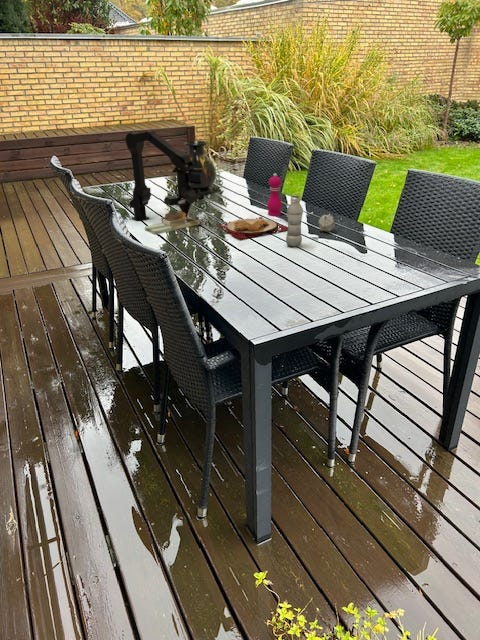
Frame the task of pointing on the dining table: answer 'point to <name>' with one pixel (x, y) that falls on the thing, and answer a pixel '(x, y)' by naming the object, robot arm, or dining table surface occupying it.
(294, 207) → the plastic bottle
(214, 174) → the amphora vase
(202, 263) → the dining table surface
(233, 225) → the plate with food
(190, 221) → the deck
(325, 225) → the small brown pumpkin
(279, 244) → the dining table surface
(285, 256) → the dining table surface
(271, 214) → the pepper mill
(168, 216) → the block
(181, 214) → the sled
